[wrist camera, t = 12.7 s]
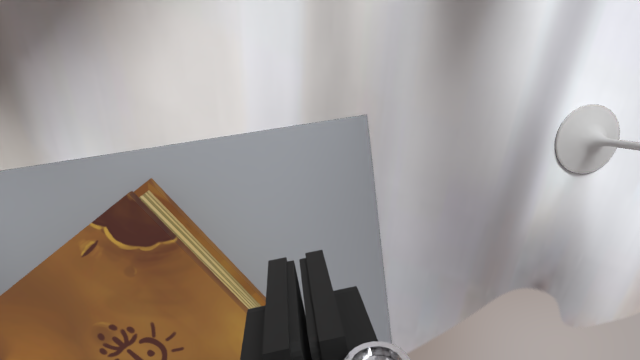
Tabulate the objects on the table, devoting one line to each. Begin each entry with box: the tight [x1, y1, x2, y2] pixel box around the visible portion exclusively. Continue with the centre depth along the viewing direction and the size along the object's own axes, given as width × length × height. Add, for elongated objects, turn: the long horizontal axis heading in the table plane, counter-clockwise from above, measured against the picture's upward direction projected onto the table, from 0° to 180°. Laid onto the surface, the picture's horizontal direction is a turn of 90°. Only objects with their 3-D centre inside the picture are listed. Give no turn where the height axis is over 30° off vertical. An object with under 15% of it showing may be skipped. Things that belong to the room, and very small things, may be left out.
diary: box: [0, 178, 266, 360], centre depth 33 cm, size 23×19×6 cm
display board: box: [0, 115, 392, 344], centre depth 34 cm, size 38×26×3 cm
